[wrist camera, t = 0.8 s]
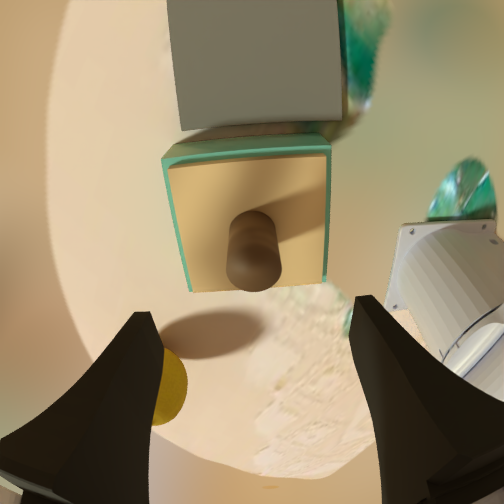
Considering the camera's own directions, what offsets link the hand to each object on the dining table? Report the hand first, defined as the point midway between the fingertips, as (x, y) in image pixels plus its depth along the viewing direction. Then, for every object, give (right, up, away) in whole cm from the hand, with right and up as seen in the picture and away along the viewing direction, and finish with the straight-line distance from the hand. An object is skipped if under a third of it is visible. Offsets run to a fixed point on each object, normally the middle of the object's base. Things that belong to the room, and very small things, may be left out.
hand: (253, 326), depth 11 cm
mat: (0, +13, +4) cm, 14 cm away
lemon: (-8, -6, +16) cm, 19 cm away
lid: (0, +4, +6) cm, 7 cm away
